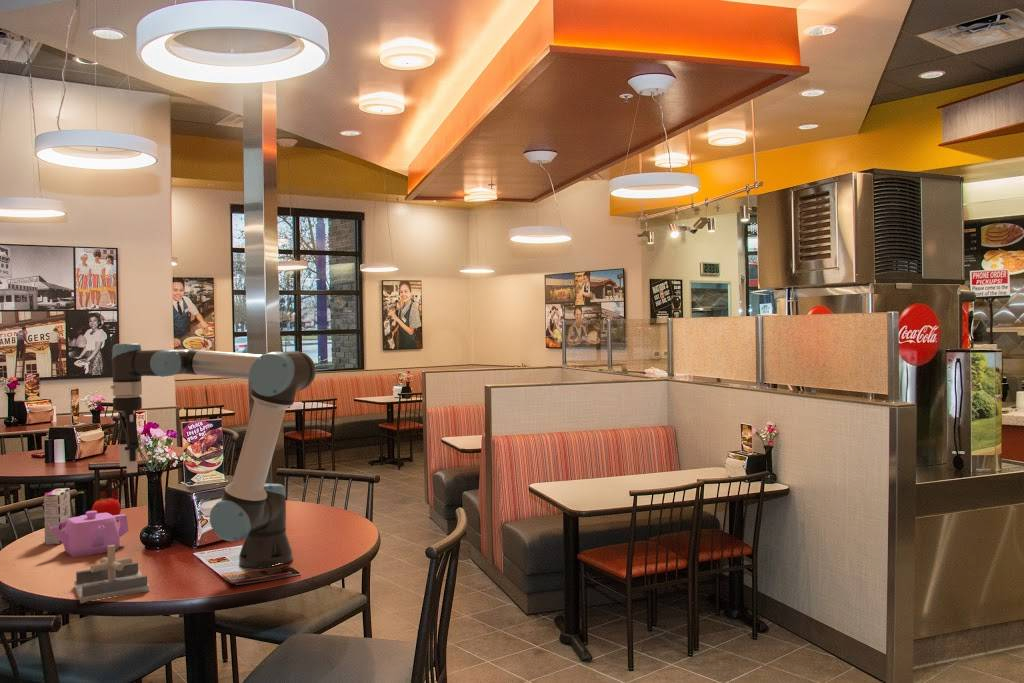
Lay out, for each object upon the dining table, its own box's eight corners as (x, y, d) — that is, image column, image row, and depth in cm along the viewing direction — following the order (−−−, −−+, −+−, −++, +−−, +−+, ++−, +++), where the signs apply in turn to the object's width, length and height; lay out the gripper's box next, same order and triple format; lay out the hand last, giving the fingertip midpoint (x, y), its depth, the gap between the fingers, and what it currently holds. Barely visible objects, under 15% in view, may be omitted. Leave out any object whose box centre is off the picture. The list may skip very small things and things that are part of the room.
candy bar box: (55, 536, 261) (54, 488, 260) (71, 535, 262) (70, 487, 262) (43, 545, 250) (42, 495, 250) (60, 544, 251) (59, 494, 251)
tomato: (126, 517, 287) (125, 495, 287) (108, 524, 277) (108, 501, 277) (102, 517, 288) (102, 495, 288) (84, 524, 278) (84, 501, 278)
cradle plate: (139, 575, 217) (139, 561, 217) (149, 591, 204) (149, 575, 204) (74, 586, 208) (73, 572, 208) (80, 603, 195) (80, 587, 195)
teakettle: (132, 543, 252) (131, 505, 252) (103, 558, 235) (102, 517, 235) (80, 543, 253) (80, 505, 253) (48, 558, 236) (47, 517, 236)
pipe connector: (122, 574, 213) (121, 538, 213) (139, 581, 207) (138, 544, 207) (84, 584, 205) (83, 546, 205) (100, 591, 199) (99, 553, 199)
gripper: (107, 394, 232) (108, 464, 233) (119, 399, 212) (120, 476, 212) (134, 393, 237) (135, 462, 237) (149, 398, 216) (150, 473, 216)
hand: (128, 469), depth 225 cm, fingers open, 13 cm apart
